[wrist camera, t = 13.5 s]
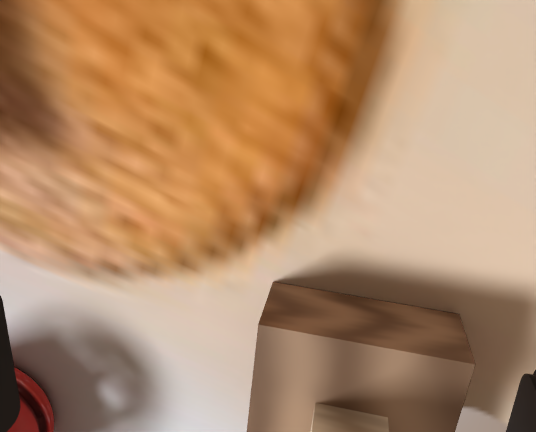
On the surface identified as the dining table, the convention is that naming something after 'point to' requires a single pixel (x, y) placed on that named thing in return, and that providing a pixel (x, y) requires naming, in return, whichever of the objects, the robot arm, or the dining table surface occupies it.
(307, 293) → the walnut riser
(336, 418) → the birch block
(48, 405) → the plant pot
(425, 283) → the dining table surface
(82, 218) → the dining table surface
